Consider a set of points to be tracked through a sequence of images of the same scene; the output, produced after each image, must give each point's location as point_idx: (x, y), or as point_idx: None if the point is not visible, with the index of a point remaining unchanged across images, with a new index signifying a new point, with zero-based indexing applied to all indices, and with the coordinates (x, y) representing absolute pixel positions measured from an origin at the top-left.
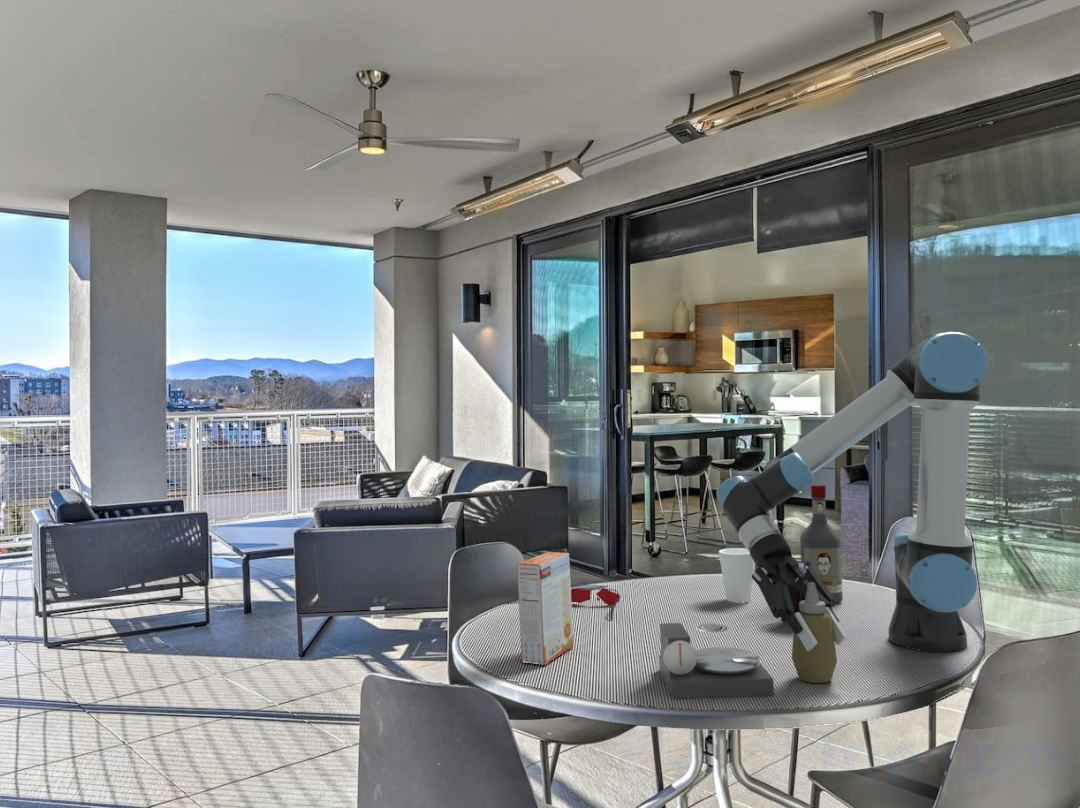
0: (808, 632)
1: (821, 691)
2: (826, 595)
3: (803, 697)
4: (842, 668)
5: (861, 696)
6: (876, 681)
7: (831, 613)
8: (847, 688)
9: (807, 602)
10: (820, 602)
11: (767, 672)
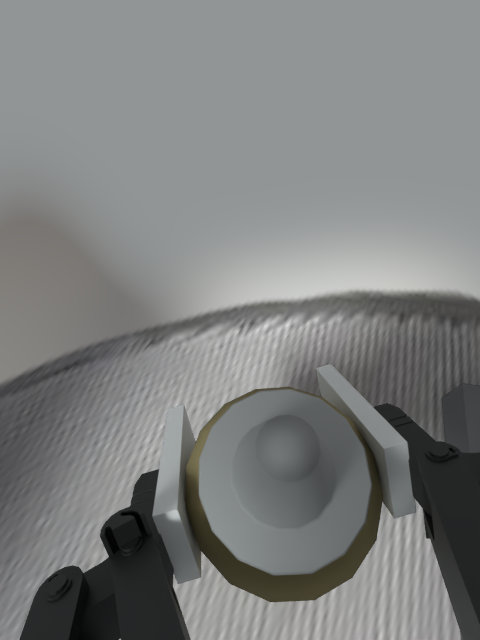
0: (347, 384)
1: None
2: (74, 635)
3: (366, 370)
4: None
5: (229, 346)
6: (128, 431)
7: (163, 482)
8: None
9: (328, 448)
10: (237, 437)
11: (469, 441)
